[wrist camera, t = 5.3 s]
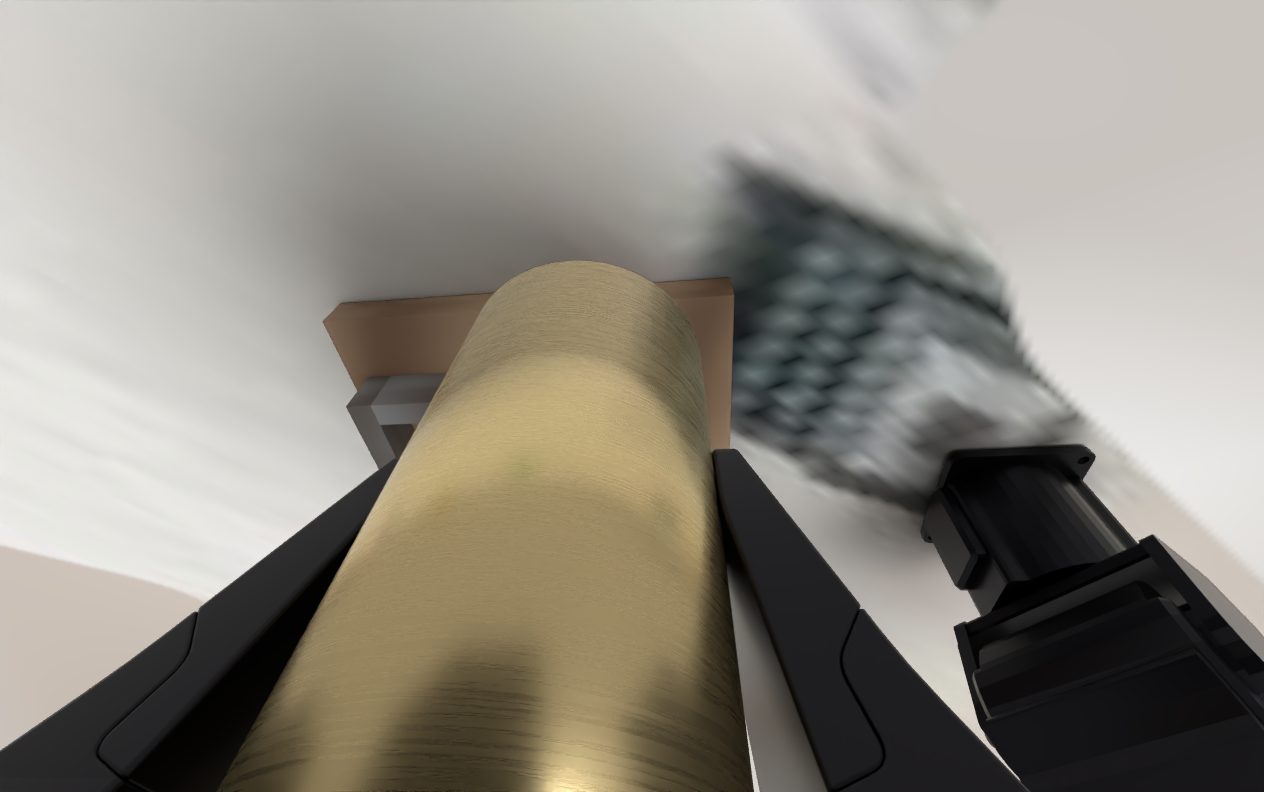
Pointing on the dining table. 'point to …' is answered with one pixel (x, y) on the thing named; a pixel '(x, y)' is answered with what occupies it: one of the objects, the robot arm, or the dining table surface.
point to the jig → (437, 327)
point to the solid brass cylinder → (530, 574)
